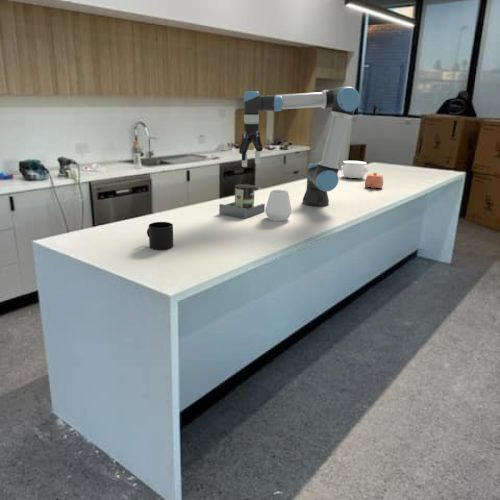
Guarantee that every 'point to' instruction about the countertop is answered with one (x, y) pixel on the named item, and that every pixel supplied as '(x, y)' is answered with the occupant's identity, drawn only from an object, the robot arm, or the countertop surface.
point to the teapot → (374, 181)
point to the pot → (354, 169)
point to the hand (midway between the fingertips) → (251, 165)
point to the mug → (160, 235)
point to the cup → (278, 206)
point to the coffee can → (244, 195)
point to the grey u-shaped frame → (240, 210)
